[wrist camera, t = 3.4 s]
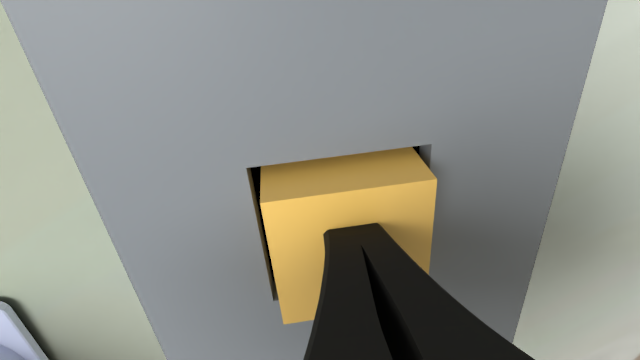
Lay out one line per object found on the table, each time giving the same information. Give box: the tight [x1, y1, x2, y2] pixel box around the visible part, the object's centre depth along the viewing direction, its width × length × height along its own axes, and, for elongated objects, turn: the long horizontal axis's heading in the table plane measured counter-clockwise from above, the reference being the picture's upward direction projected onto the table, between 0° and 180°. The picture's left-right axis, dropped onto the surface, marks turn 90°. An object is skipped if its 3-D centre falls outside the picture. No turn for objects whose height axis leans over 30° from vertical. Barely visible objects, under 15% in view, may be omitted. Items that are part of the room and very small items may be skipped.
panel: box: [0, 0, 608, 360], centre depth 12 cm, size 12×26×4 cm, turn 4°
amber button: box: [260, 147, 437, 324], centre depth 11 cm, size 4×4×4 cm
